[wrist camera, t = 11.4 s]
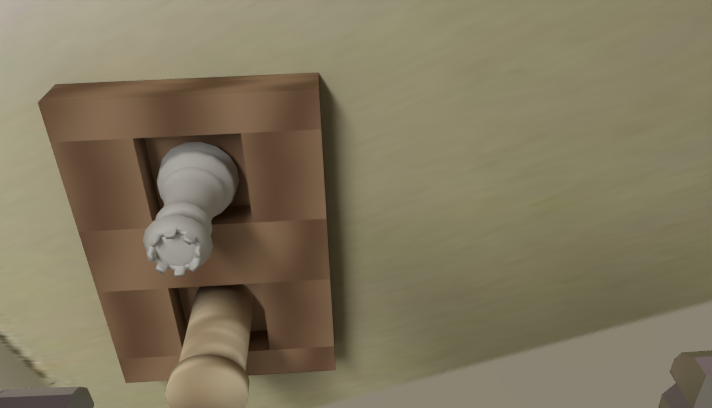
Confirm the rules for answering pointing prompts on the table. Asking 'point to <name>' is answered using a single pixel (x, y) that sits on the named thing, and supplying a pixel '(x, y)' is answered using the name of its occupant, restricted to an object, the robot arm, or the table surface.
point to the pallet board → (229, 229)
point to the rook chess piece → (189, 206)
